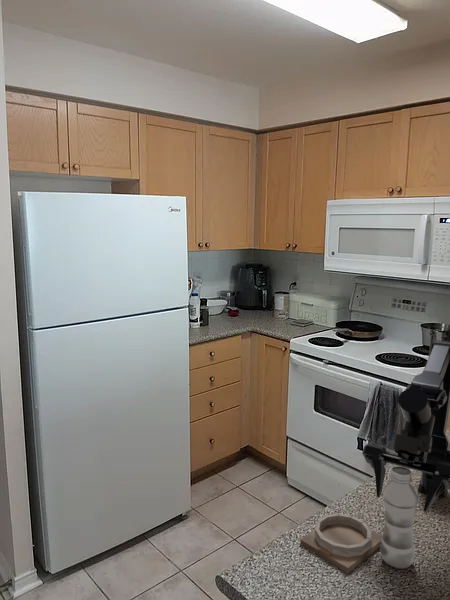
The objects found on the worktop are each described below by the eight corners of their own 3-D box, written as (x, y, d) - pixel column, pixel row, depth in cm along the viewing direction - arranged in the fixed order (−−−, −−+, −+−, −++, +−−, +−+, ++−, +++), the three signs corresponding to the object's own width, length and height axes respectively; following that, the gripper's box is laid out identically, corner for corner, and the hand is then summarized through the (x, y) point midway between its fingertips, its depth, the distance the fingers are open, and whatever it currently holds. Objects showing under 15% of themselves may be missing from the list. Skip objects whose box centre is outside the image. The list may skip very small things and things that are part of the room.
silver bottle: (383, 547, 102) (386, 459, 99) (416, 558, 99) (421, 467, 96) (376, 566, 96) (379, 473, 93) (411, 578, 93) (416, 482, 90)
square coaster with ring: (338, 517, 113) (338, 505, 112) (384, 542, 104) (385, 528, 103) (300, 544, 103) (300, 530, 103) (347, 573, 94) (348, 558, 94)
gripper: (366, 407, 104) (346, 476, 96) (461, 427, 93) (447, 506, 86) (376, 429, 111) (358, 495, 104) (465, 450, 101) (452, 524, 93)
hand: (400, 504), depth 97 cm, fingers open, 9 cm apart
